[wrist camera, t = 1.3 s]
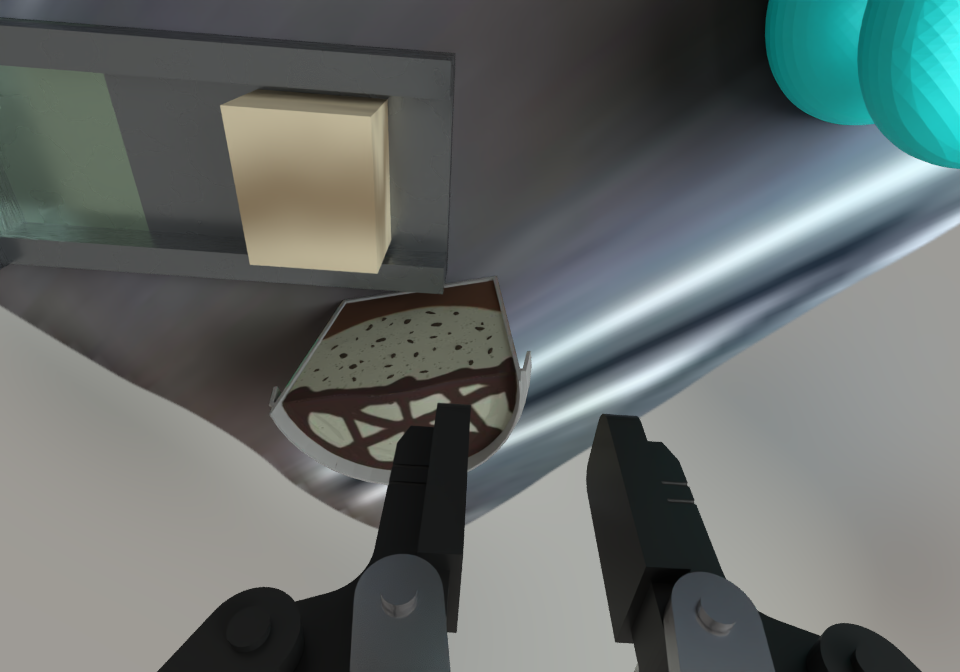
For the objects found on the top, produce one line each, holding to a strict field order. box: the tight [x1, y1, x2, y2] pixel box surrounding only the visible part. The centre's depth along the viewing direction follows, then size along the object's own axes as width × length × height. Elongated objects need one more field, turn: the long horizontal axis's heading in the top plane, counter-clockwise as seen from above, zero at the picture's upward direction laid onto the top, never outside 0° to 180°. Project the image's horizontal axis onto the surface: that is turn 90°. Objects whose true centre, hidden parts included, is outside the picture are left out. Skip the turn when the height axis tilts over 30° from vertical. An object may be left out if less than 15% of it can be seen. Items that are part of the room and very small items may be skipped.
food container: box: [269, 276, 532, 485], centre depth 29 cm, size 12×6×10 cm, turn 101°
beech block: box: [220, 89, 391, 274], centre depth 25 cm, size 7×6×4 cm
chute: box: [0, 17, 455, 294], centre depth 26 cm, size 11×24×4 cm, turn 86°
